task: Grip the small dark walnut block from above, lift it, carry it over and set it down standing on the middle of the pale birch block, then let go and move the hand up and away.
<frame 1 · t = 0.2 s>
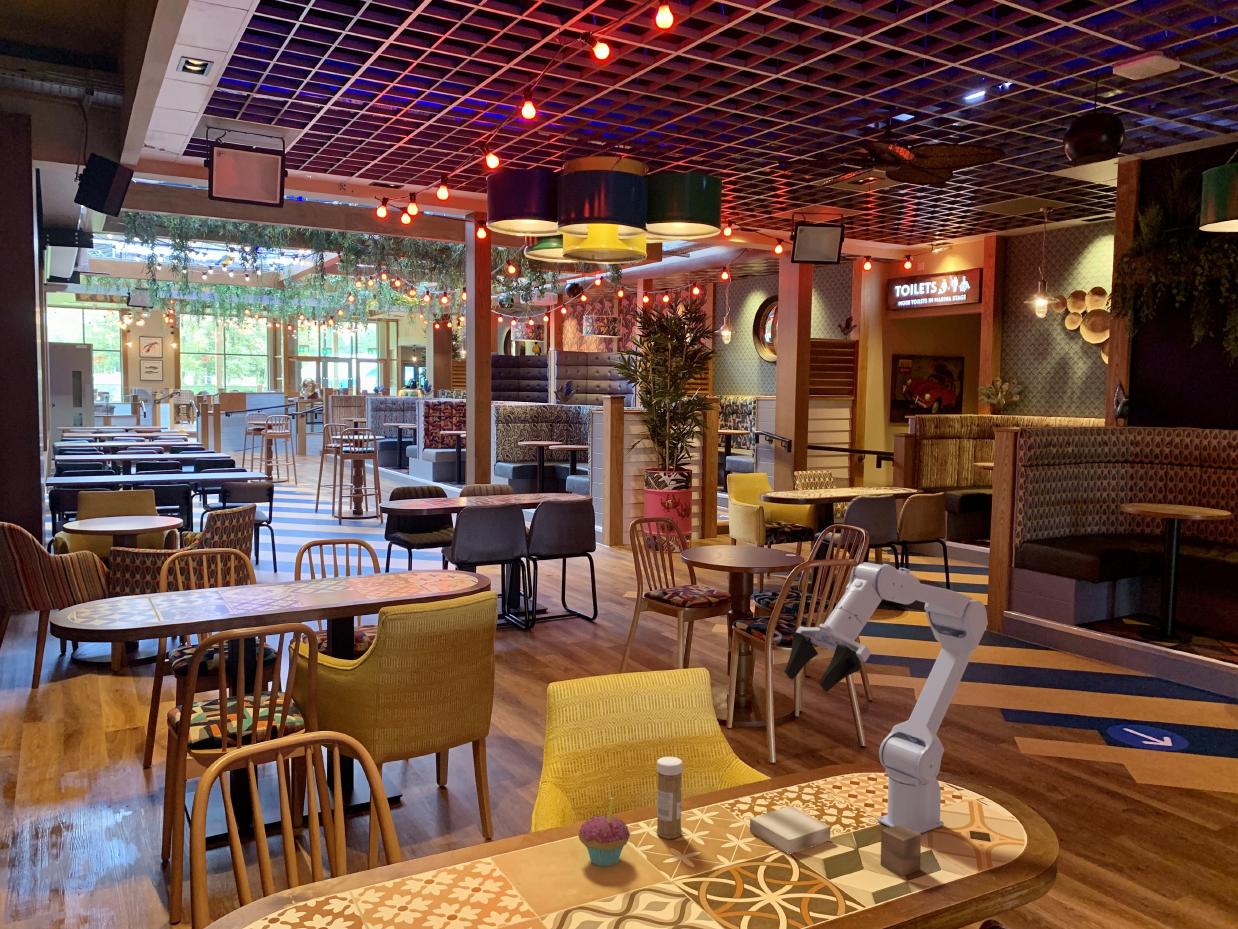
hand: (805, 681, 150), 31 cm above the table, tool tilted 45°, fingers open, 7 cm apart
birch block: (789, 838, 162), on the table
sprinkles bottle: (668, 835, 162), on the table
cupcake: (603, 861, 153), on the table
walnut block: (900, 867, 151), on the table
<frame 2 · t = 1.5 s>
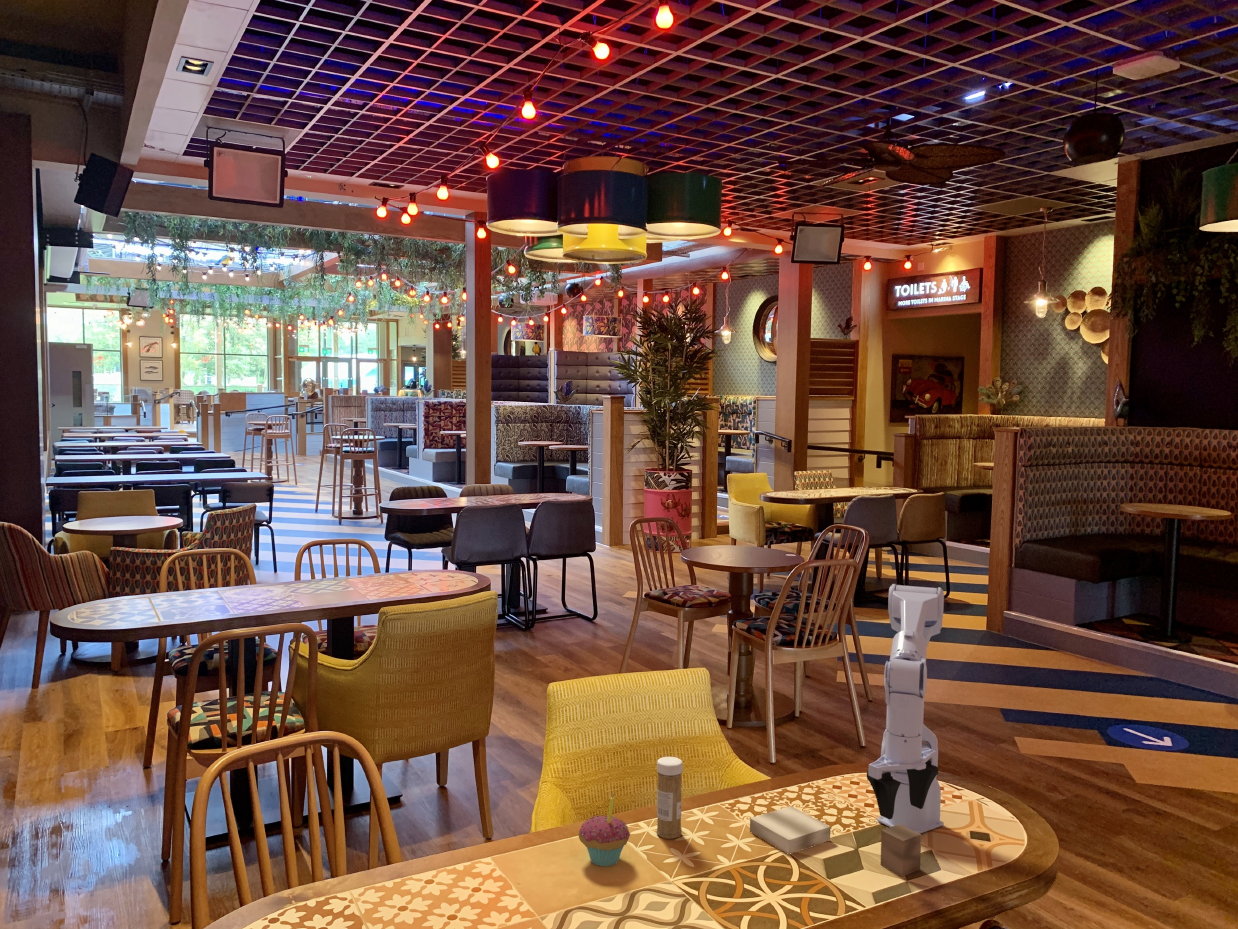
hand: (901, 811, 151), 9 cm above the table, tool pointing down, fingers open, 7 cm apart
nothing on the table moved.
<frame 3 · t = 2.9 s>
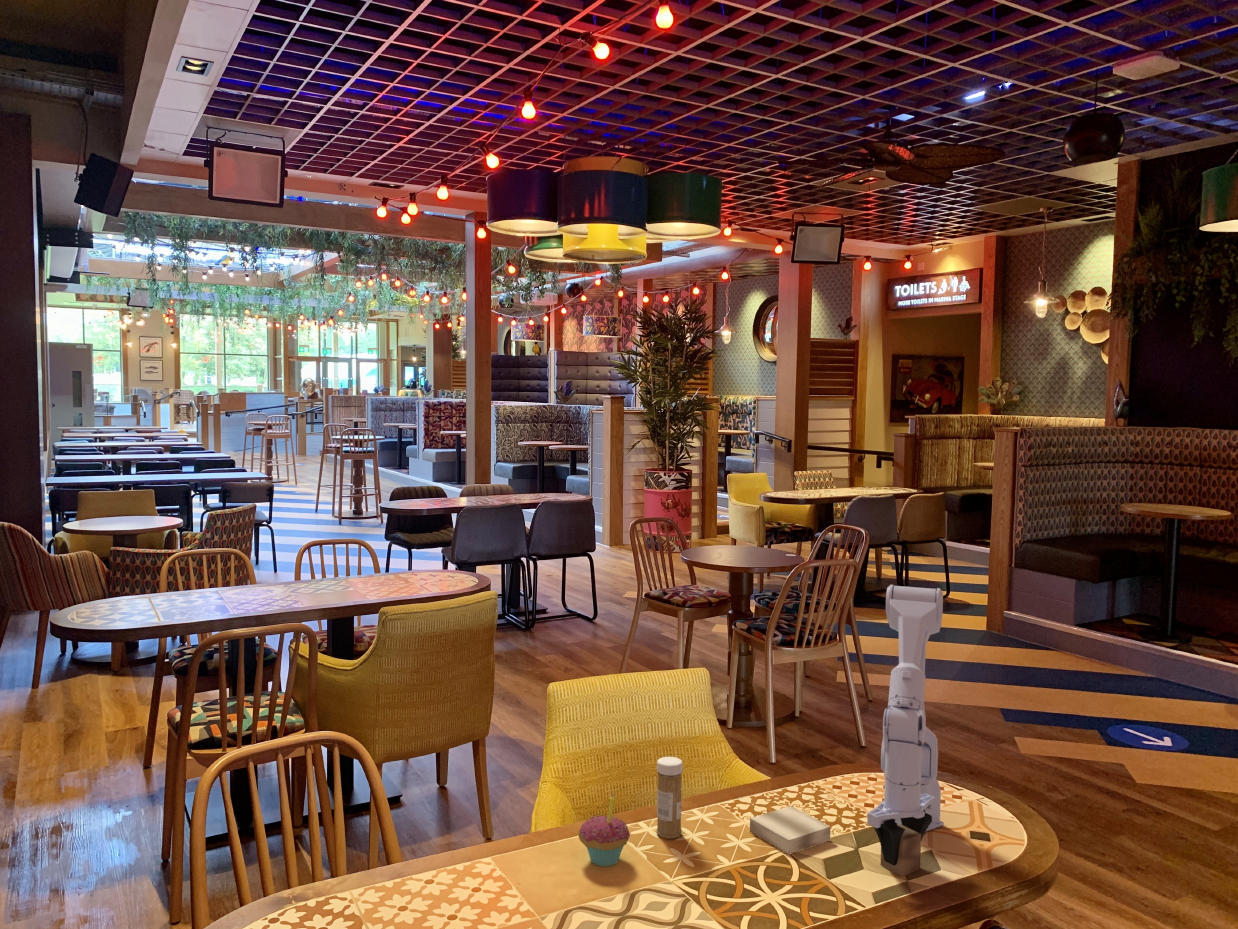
hand: (900, 858, 151), 1 cm above the table, tool pointing down, fingers closed on walnut block, 4 cm apart
walnut block: (900, 867, 151), on the table, touching gripper
everything else where it was.
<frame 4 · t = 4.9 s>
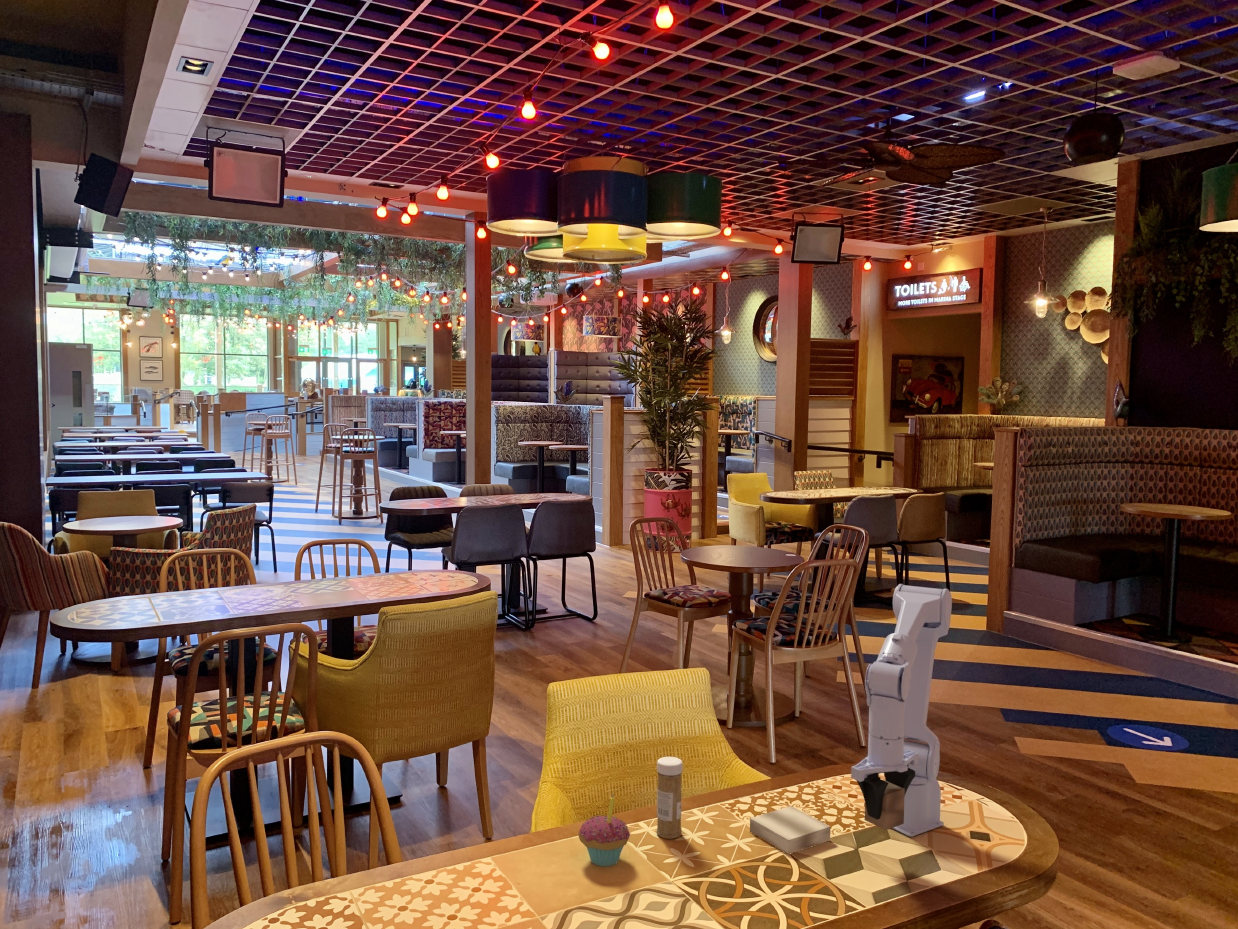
hand: (884, 813, 153), 8 cm above the table, tool pointing down, fingers closed on walnut block, 4 cm apart
walnut block: (884, 822, 153), point 7 cm above the table, touching gripper
everything else where it was.
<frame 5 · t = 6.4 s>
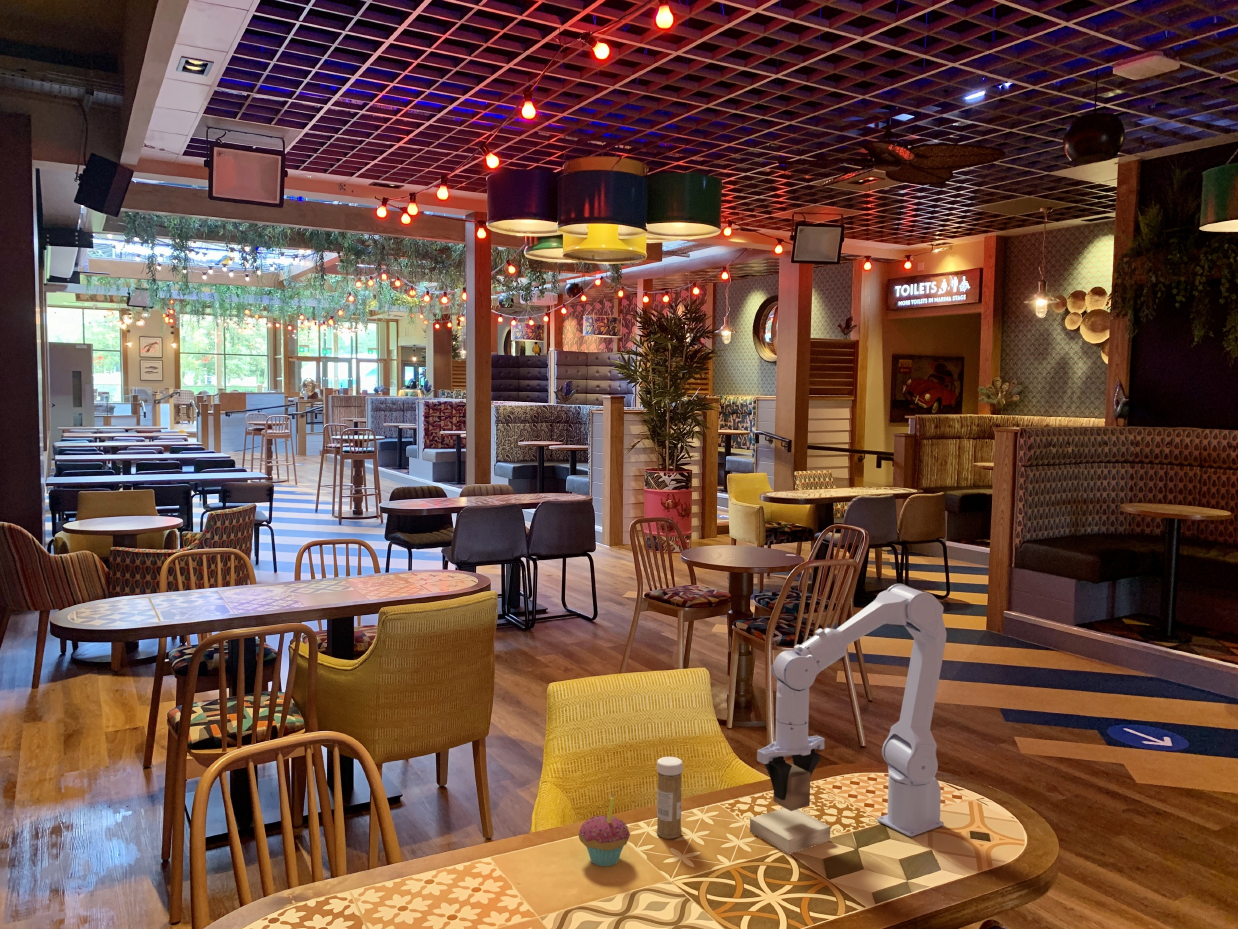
hand: (790, 794, 162), 8 cm above the table, tool pointing down, fingers closed on walnut block, 4 cm apart
walnut block: (791, 803, 162), point 6 cm above the table, touching gripper
everything else where it was.
when the fingers open (5 cm above the table, at t = 7.3 s): walnut block drops 1 cm, point 2 cm above the table.
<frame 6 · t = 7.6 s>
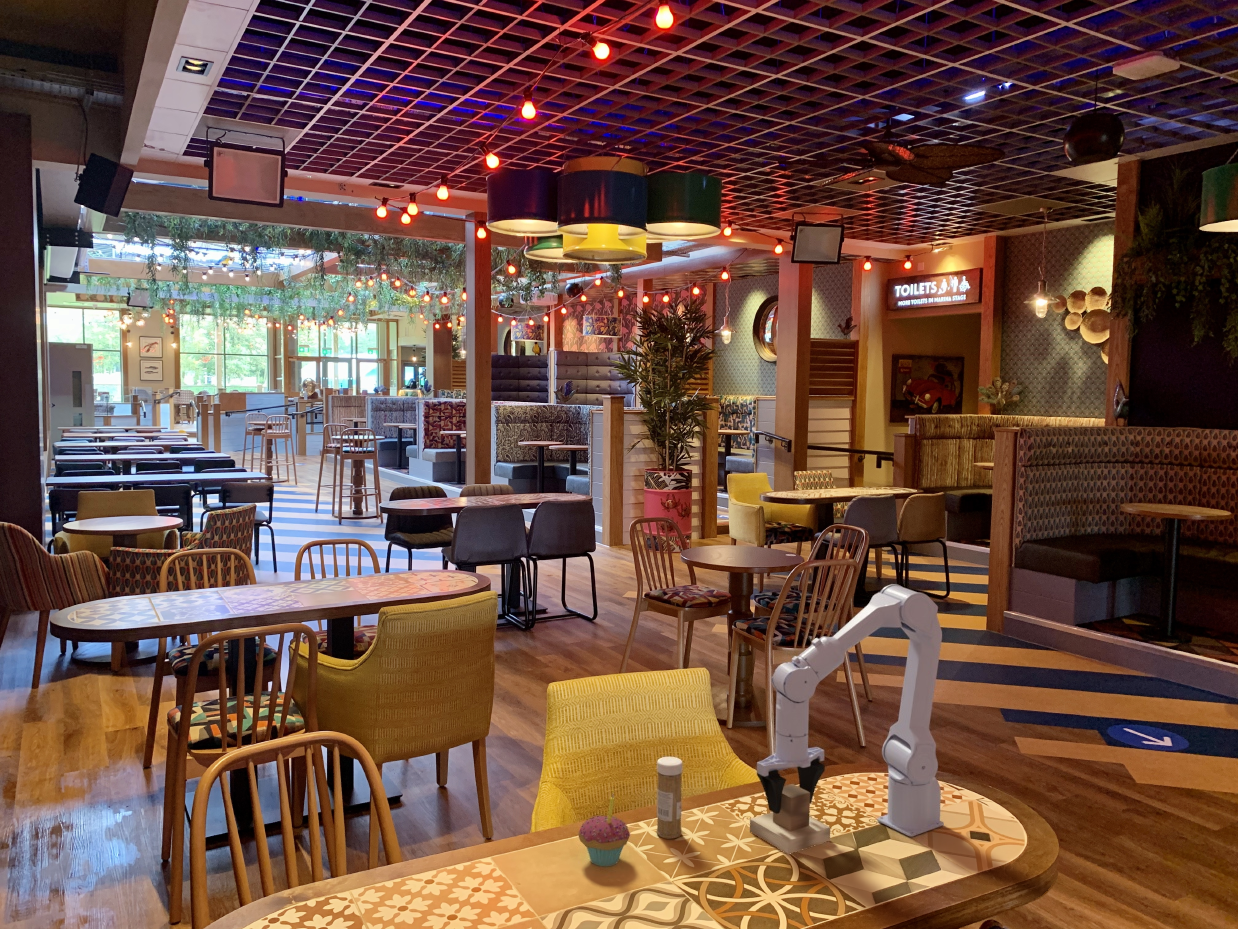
hand: (790, 806, 162), 5 cm above the table, tool pointing down, fingers open, 7 cm apart
walnut block: (790, 823, 162), point 2 cm above the table
everything else where it was.
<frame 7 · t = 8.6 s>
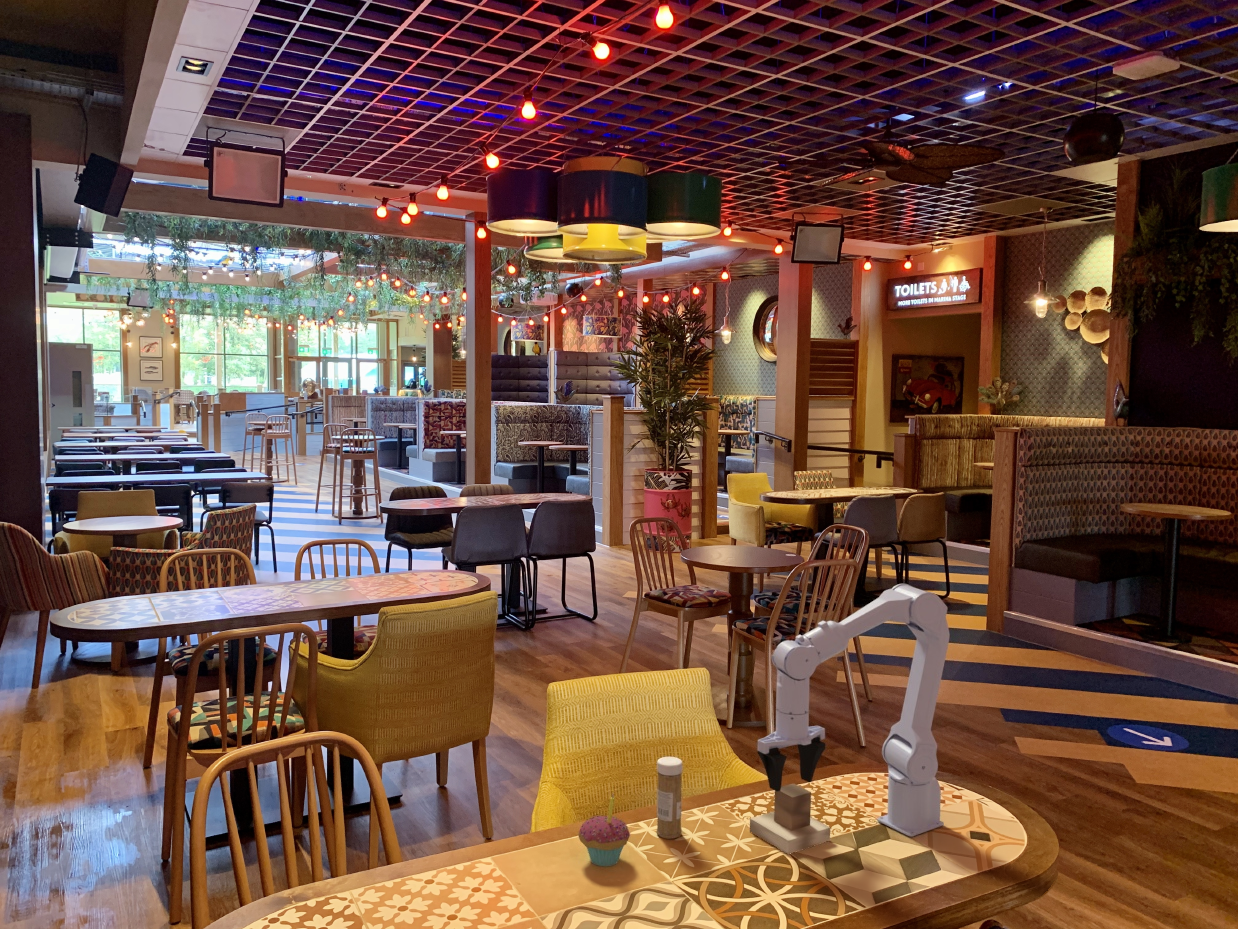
hand: (790, 784, 162), 9 cm above the table, tool pointing down, fingers open, 7 cm apart
birch block: (789, 839, 162), on the table, touching walnut block
walnut block: (791, 823, 162), point 2 cm above the table, touching birch block
everything else where it was.
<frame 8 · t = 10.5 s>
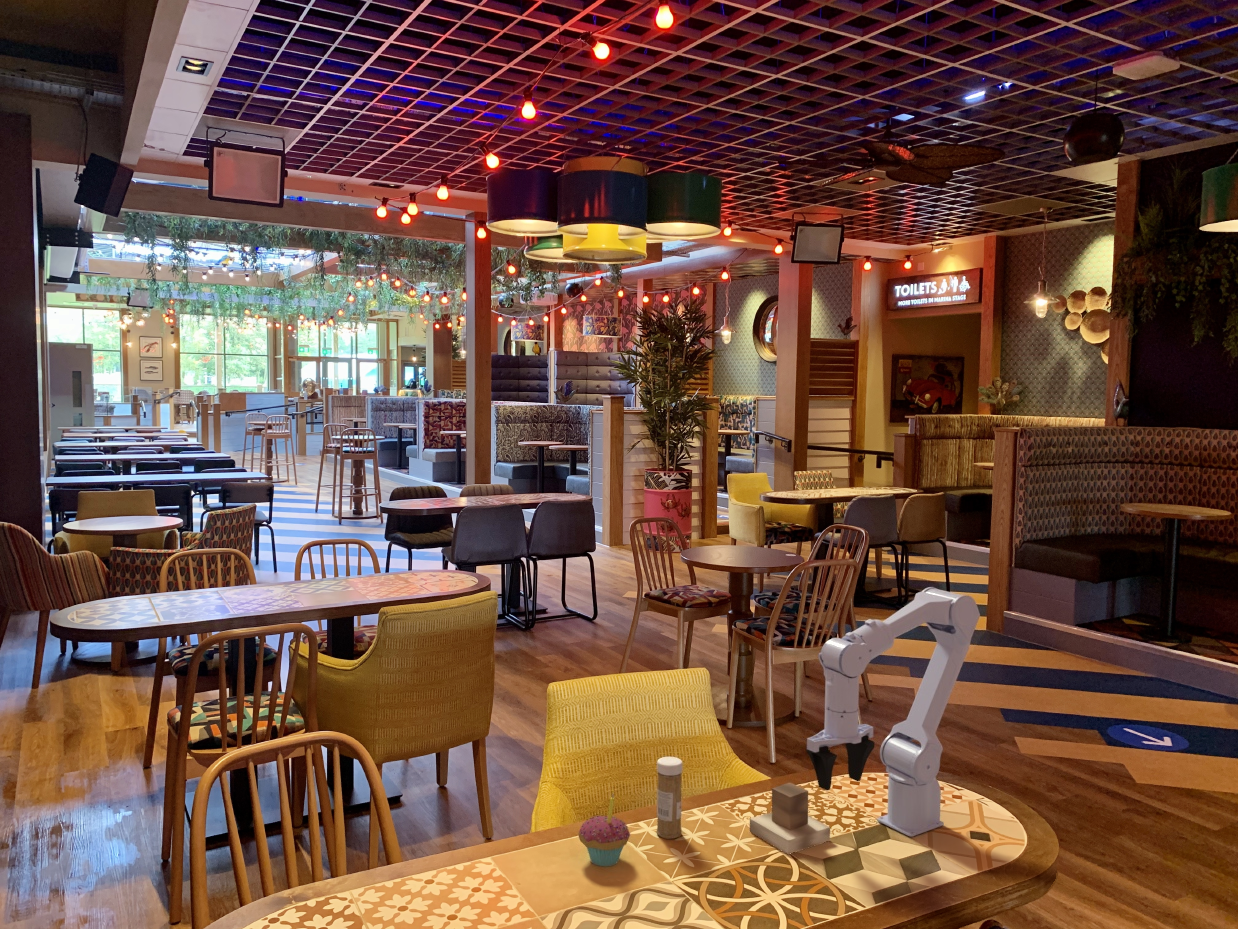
hand: (839, 783, 160), 10 cm above the table, tool pointing down, fingers open, 7 cm apart
birch block: (789, 839, 162), on the table
walnut block: (789, 822, 162), point 2 cm above the table
everything else where it was.
at the end: walnut block inside the target area on the birch block (0.1 cm from its centre), point 3.0 cm above the birch block's base; walnut block tilted 0°; the gripper is holding nothing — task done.
